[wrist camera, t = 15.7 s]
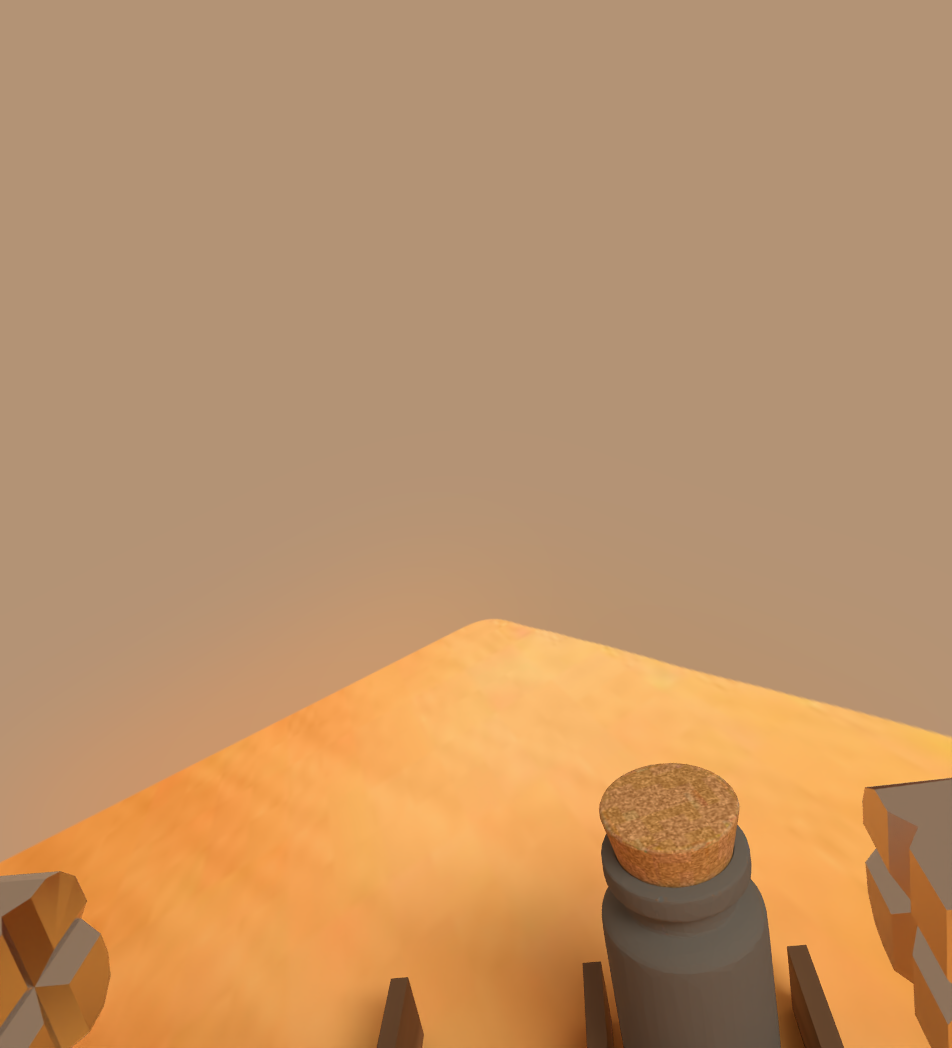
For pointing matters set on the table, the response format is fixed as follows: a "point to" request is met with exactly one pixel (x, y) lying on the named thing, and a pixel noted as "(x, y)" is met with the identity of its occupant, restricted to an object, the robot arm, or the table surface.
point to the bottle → (684, 914)
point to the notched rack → (808, 1002)
